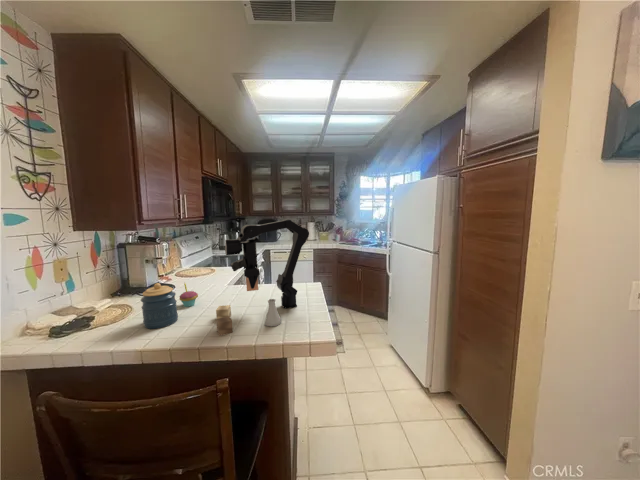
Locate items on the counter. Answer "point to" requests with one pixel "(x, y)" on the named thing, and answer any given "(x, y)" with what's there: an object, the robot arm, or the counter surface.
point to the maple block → (223, 311)
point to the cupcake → (188, 297)
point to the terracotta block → (250, 285)
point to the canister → (159, 307)
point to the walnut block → (224, 325)
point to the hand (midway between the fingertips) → (252, 286)
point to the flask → (272, 314)
